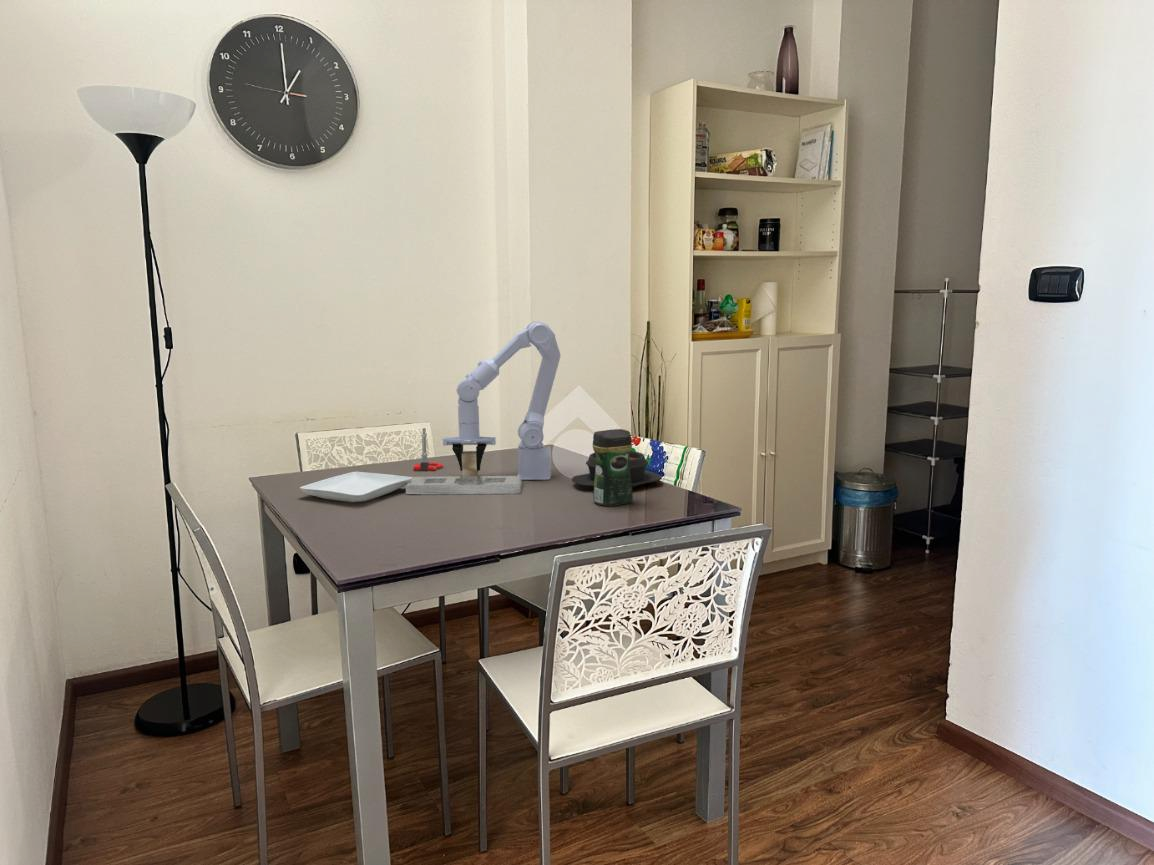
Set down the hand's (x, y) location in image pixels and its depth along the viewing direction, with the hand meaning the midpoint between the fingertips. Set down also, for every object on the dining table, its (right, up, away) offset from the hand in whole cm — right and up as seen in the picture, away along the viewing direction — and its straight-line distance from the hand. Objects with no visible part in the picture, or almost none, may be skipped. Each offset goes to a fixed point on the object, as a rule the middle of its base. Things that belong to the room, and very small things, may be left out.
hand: (470, 470), depth 232 cm
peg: (0, -3, +1) cm, 3 cm away
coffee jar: (+39, -7, -25) cm, 47 cm away
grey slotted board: (0, -5, -10) cm, 11 cm away
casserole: (+41, -4, -6) cm, 42 cm away
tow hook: (-15, 0, +17) cm, 23 cm away
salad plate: (-28, -6, -14) cm, 32 cm away
